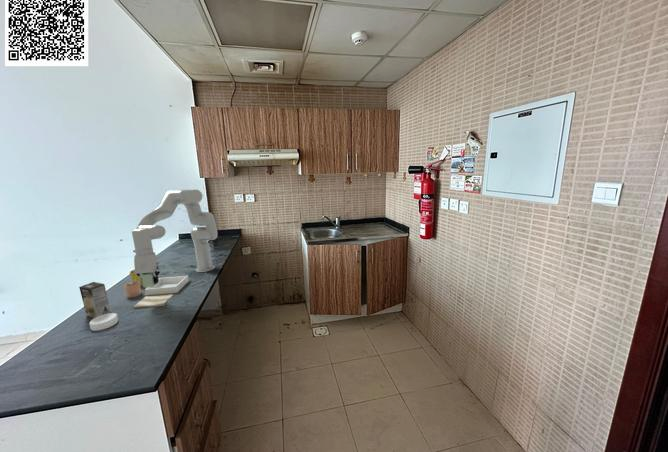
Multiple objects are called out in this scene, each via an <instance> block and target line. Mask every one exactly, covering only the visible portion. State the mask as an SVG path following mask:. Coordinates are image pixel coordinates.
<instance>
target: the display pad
mask: <svg viewBox="0 0 668 452" xmlns="http://www.w3.org/2000/svg"><path fill="white" fill-rule="evenodd" d="M174 294H175V293H170V294H159V295H147V296H146V295H145V296H144V297H143V298H141V300H139V301H138V302H137V303H136V304H134V305H133V307H132V308H133V309H143V308H152V307H154V308H155V307H164V306H165V305H166V304H167V302H168V301H169V300H170V299H171V298H172V296H174Z"/></svg>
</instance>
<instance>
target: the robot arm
mask: <svg viewBox="0 0 668 452" xmlns="http://www.w3.org/2000/svg"><path fill="white" fill-rule="evenodd" d="M202 200H203V194H202V192H201V191H200V190H199V189H176V190H168V191H166V193H165V194H164V195H163V197H162V199H161V201H160V202H159V204H158V206H157V208H155V209H154V210H152V211H151V212H149V213H147V214H146V215H145V216H143V217H142V219H141V220H140V221H139V223H138V224H137V227H136V228H135V229H132V231H131V235H132V240H133V245H134V249H133V251H132V252H133V253H135V254H134V257H133V259H134V260H133V262H134V263H133V265H134V269H133V270H134V271H133V273H135V274H137V275H138V276H139V277H140V278H141V275H142V274H143V273H152V274H153V276H154V277H153V281H154V284H156V283H158V281H159V275H160V273H162V272H163V271H164V268H163V267H162V266H160V263H159V260H158V257H157V255H156V252H155V251H154V248H153V242H152V241H153V240H160V239H161V238H163V237H165V235H166V232H167V231H166V229H165V227H164V226H162V225H159V224H157V223H158V222H161V221H164V220H167V219H169V218H170V217H172V216H173V214H174V213H175V210H176V209H177V208H178V205H183V206H184V208H186V209H185V210H186V212H187V215H188V216H187V217H188V219H189V223H190V224H191V225H192V226H195V227H193V228H192V229H191V231H190V236H191V239H192V241H193V246H194V251H195V258H196V265H197V267H196V268H195V271H196V272H197V273H205V272H206V273H207V272H209V271H212V270H214V269H215V268H216V266H215V265H214V264H213V263H212V262H213V259H212V255H211V248H210V244H209V242H208V241H213V240H216V239H217V238H218V235H219V234H218V229H217V224H216V220H215V217H214V214H213V213H212V212H209V211H202V208H201V205H200V202H201V201H202ZM141 281H142V278H141ZM142 284H143V283H142Z"/></svg>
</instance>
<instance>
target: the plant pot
mask: <svg viewBox="0 0 668 452" xmlns="http://www.w3.org/2000/svg"><path fill="white" fill-rule="evenodd" d="M134 270H135V269H132V270H130V271H129V276H130V278H131V279H132V281H139V282H140V287H142V286H143V284H142V281H141V278H140V277H139V276H138V275H137V274H135V273H133V271H134Z"/></svg>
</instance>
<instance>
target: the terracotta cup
mask: <svg viewBox="0 0 668 452" xmlns="http://www.w3.org/2000/svg"><path fill="white" fill-rule="evenodd" d="M141 287H142V286H140V282H139V281H133V280H132V281H128V282H126V283H124V291H125V296H126V298H127V299H129V298H130V299H131V298H137V297H139V296H141V295H142V293H143V292H142V288H141Z"/></svg>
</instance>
